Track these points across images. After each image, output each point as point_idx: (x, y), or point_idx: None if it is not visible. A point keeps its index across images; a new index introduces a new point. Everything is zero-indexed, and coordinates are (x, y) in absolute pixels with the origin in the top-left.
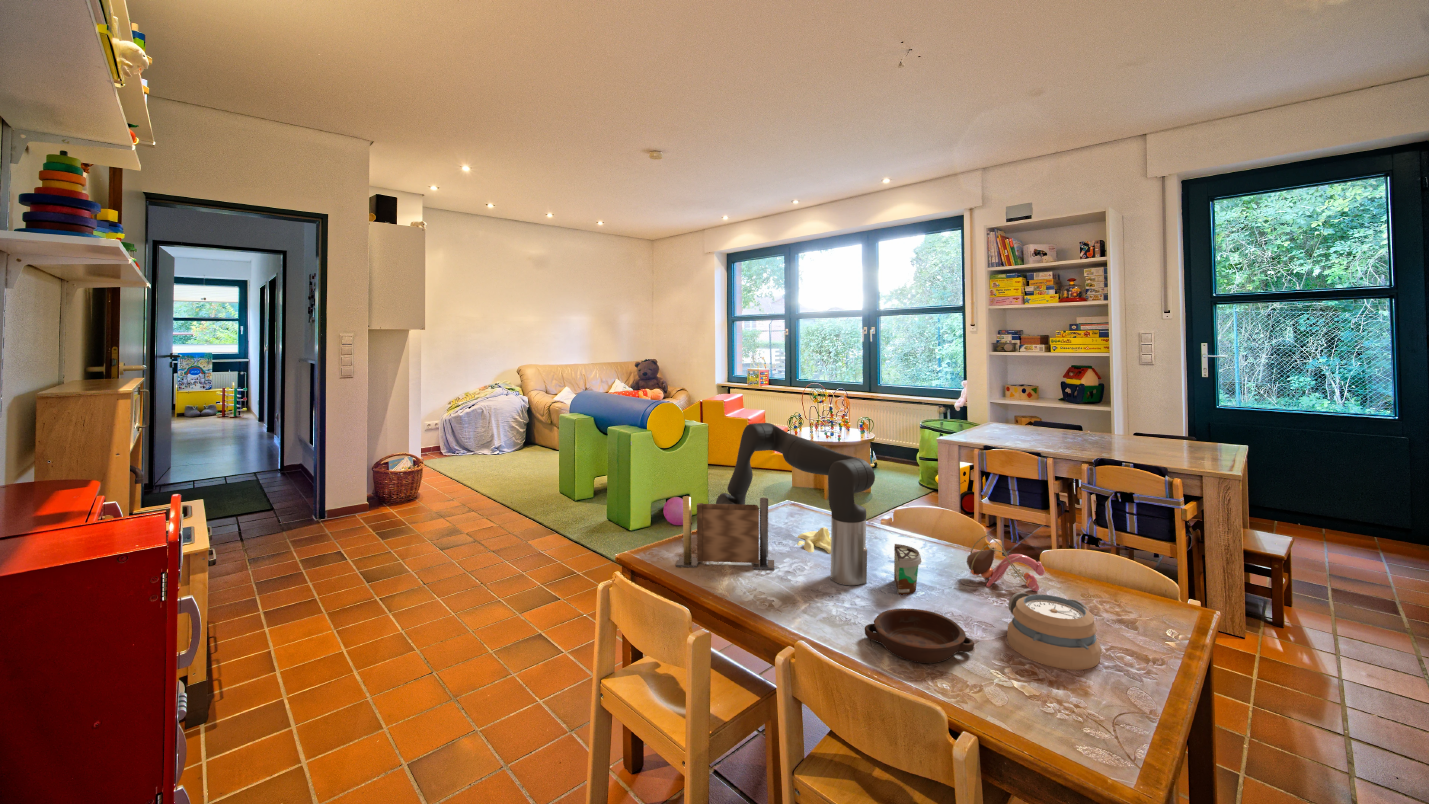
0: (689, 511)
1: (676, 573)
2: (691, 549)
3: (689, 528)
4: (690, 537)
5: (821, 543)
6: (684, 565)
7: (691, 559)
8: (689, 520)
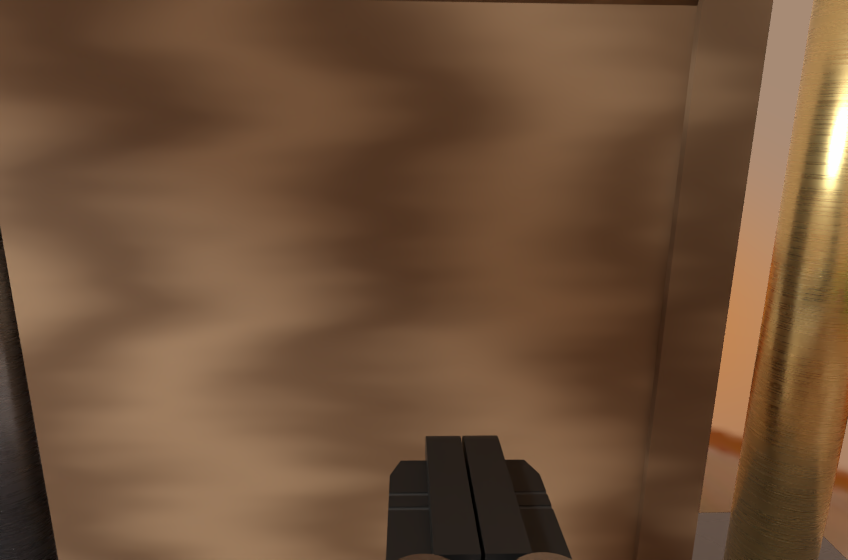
0: (807, 51)
1: (707, 457)
2: (744, 468)
3: (775, 242)
4: (759, 340)
5: None
6: (729, 514)
7: (727, 549)
8: (789, 156)
